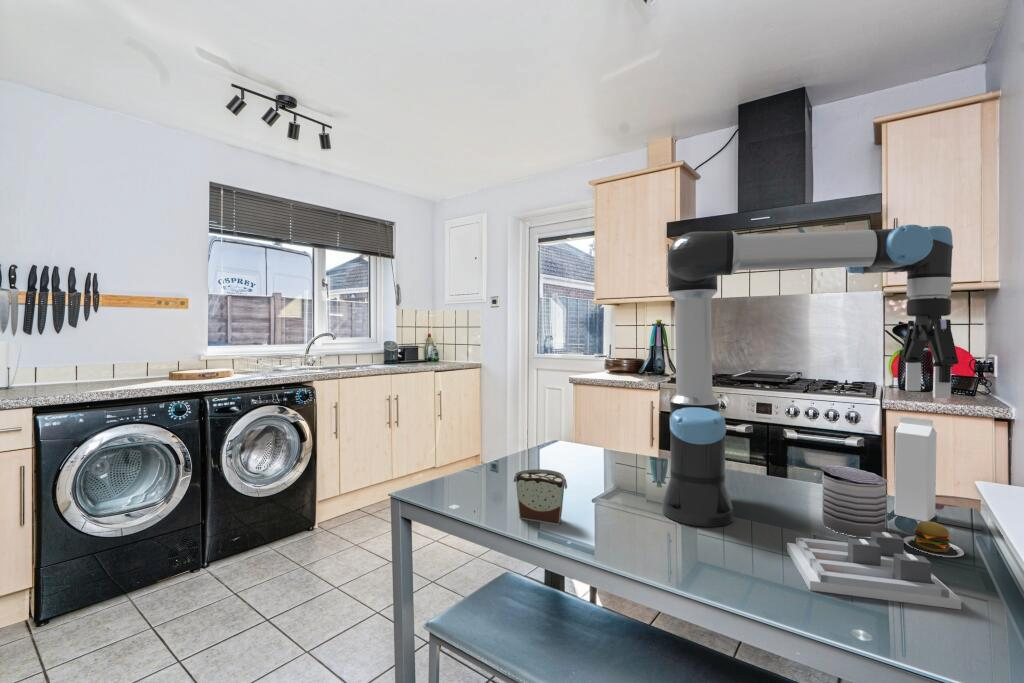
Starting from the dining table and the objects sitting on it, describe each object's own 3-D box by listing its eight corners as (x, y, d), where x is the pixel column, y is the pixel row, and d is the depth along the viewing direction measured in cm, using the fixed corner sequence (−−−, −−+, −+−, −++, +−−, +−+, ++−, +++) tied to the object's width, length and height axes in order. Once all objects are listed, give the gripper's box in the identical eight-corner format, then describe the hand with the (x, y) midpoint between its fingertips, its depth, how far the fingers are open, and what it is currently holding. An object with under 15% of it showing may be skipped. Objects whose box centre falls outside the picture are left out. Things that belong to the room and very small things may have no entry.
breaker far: (876, 559, 87) (876, 535, 87) (870, 553, 89) (870, 530, 89) (903, 562, 86) (903, 538, 86) (897, 556, 88) (897, 533, 88)
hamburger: (952, 571, 88) (953, 540, 87) (879, 544, 99) (879, 517, 98) (989, 559, 92) (990, 529, 92) (915, 534, 103) (915, 508, 103)
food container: (574, 516, 112) (574, 472, 112) (565, 526, 107) (565, 479, 106) (524, 508, 117) (524, 466, 117) (513, 517, 112) (513, 473, 111)
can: (828, 514, 113) (829, 461, 113) (890, 528, 105) (891, 471, 105) (814, 528, 105) (814, 471, 105) (880, 544, 97) (881, 483, 97)
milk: (927, 522, 108) (929, 421, 107) (893, 514, 113) (895, 417, 112) (935, 516, 112) (937, 418, 111) (902, 508, 117) (904, 414, 116)
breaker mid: (852, 567, 84) (853, 542, 84) (847, 561, 86) (847, 537, 86) (880, 570, 83) (880, 545, 83) (874, 564, 85) (874, 539, 85)
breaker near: (900, 585, 78) (900, 558, 78) (893, 577, 80) (893, 552, 80) (930, 588, 77) (931, 561, 77) (922, 581, 79) (923, 555, 79)
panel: (809, 590, 80) (810, 573, 80) (786, 550, 95) (787, 536, 94) (960, 609, 74) (961, 591, 74) (912, 564, 89) (912, 549, 89)
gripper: (982, 293, 97) (979, 402, 97) (922, 301, 121) (921, 388, 121) (935, 294, 99) (933, 400, 100) (886, 301, 123) (884, 387, 124)
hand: (926, 394), depth 111 cm, fingers open, 13 cm apart
